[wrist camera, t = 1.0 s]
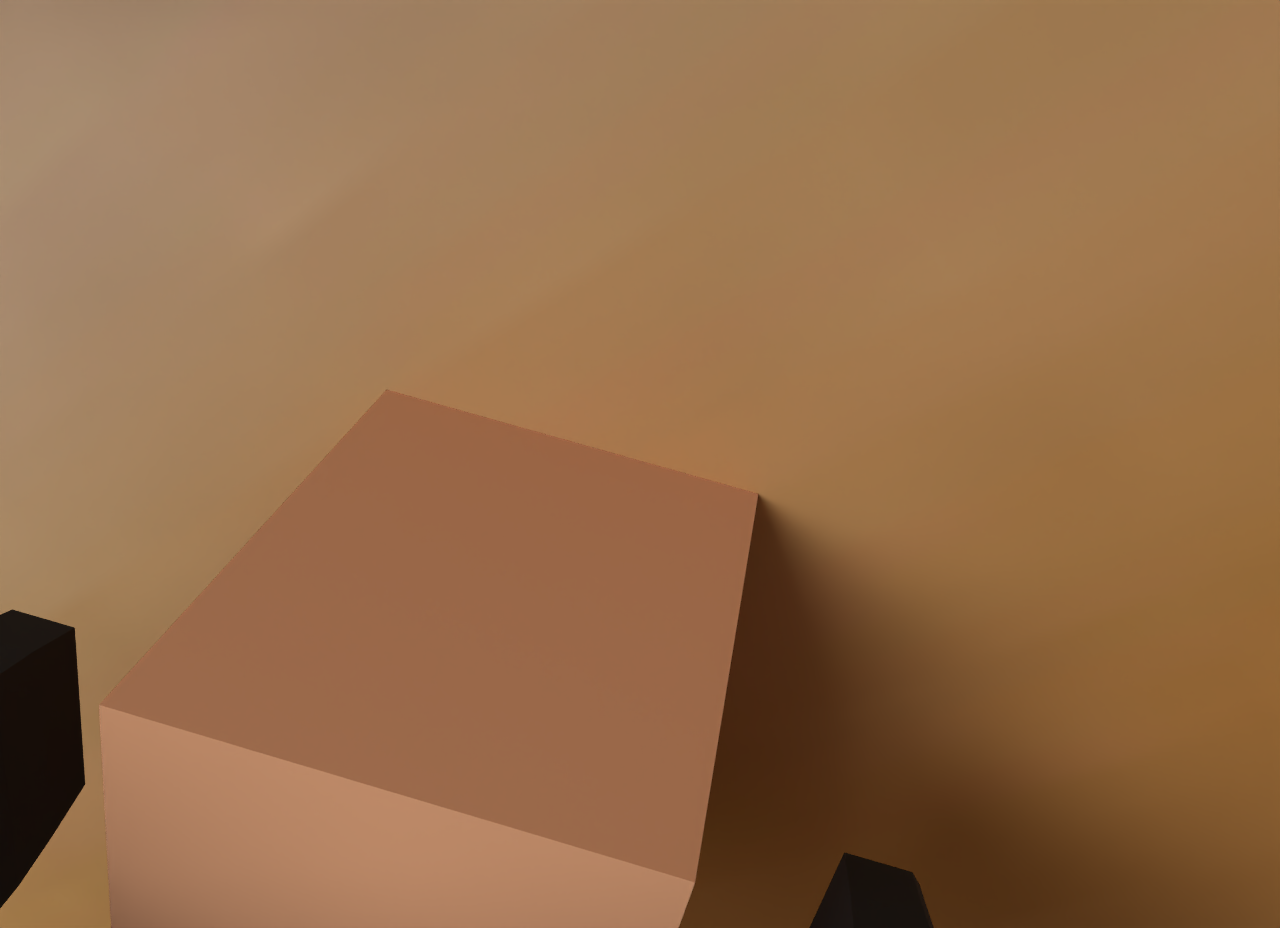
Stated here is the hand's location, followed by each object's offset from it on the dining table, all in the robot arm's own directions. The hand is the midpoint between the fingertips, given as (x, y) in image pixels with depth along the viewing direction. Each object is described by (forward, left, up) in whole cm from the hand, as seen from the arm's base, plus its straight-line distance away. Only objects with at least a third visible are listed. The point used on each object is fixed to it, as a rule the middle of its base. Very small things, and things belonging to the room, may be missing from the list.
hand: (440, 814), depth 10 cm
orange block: (0, 0, -3) cm, 3 cm away
